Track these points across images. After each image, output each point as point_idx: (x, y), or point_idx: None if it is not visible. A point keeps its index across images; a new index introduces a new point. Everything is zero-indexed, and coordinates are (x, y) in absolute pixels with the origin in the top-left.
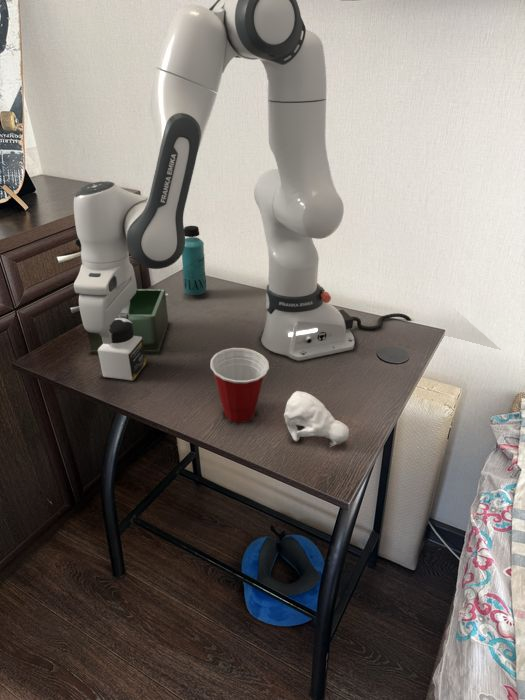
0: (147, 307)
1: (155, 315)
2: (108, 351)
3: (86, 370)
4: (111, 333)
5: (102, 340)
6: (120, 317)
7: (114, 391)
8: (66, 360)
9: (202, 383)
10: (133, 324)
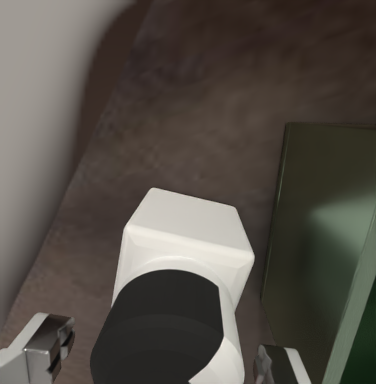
0: None
1: None
2: (118, 264)
3: (187, 131)
4: (47, 382)
5: (27, 324)
6: (267, 372)
7: (94, 225)
8: (251, 42)
9: None
10: (305, 330)
